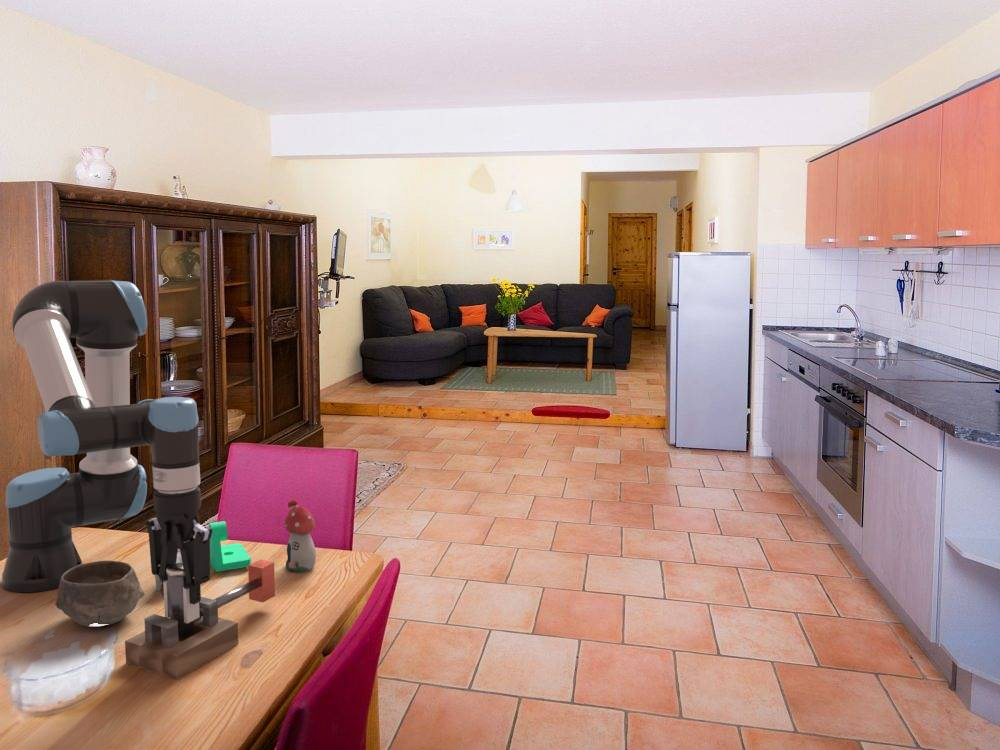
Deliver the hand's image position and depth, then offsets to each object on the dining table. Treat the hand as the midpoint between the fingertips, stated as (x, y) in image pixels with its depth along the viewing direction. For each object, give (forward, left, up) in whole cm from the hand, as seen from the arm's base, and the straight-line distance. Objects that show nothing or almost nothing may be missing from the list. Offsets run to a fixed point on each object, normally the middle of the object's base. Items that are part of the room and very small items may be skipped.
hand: (182, 616), depth 138 cm
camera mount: (-24, +35, -7) cm, 43 cm away
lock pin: (0, +13, -4) cm, 13 cm away
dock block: (0, 0, -7) cm, 7 cm away
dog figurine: (-26, +22, -7) cm, 35 cm away
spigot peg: (0, 0, -3) cm, 3 cm away
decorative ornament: (-8, +41, -7) cm, 42 cm away
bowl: (-24, +2, -7) cm, 25 cm away
